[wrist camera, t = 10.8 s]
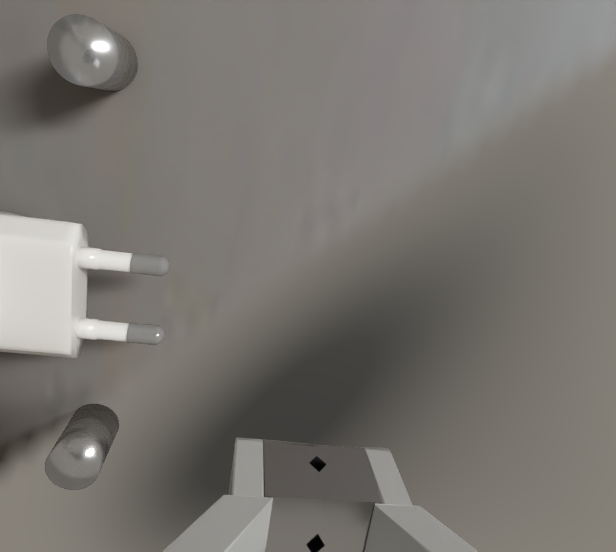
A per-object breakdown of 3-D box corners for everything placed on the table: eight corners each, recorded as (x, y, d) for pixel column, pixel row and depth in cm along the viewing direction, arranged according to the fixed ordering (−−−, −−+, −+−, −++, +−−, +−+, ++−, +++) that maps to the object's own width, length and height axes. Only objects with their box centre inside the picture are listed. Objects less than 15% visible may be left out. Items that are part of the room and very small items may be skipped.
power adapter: (185, 216, 20) (157, 252, 15) (176, 328, 22) (148, 401, 16) (-124, 177, 19) (-285, 201, 13) (-113, 300, 20) (-255, 371, 14)
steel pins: (71, 441, 23) (44, 488, 20) (80, 26, 18) (46, 8, 15) (117, 444, 23) (98, 491, 20) (139, 36, 18) (117, 21, 15)
